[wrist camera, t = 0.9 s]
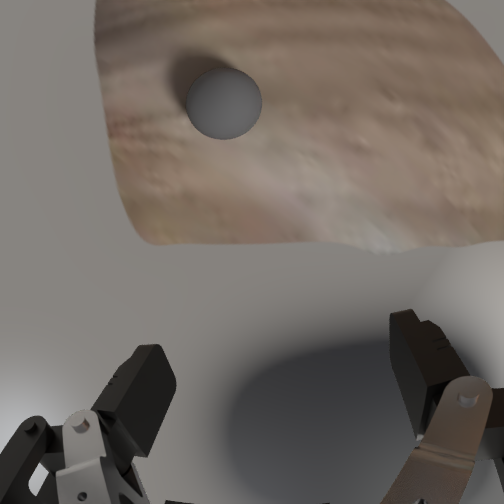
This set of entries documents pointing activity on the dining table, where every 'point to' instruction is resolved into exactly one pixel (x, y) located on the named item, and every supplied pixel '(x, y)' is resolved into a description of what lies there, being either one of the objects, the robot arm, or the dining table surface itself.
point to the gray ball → (224, 103)
